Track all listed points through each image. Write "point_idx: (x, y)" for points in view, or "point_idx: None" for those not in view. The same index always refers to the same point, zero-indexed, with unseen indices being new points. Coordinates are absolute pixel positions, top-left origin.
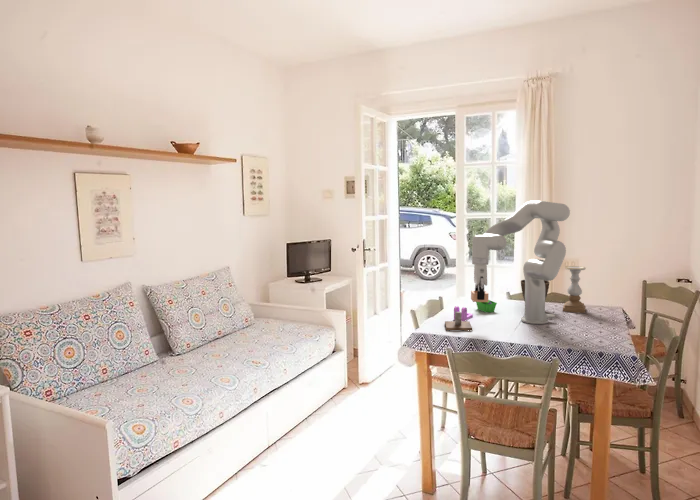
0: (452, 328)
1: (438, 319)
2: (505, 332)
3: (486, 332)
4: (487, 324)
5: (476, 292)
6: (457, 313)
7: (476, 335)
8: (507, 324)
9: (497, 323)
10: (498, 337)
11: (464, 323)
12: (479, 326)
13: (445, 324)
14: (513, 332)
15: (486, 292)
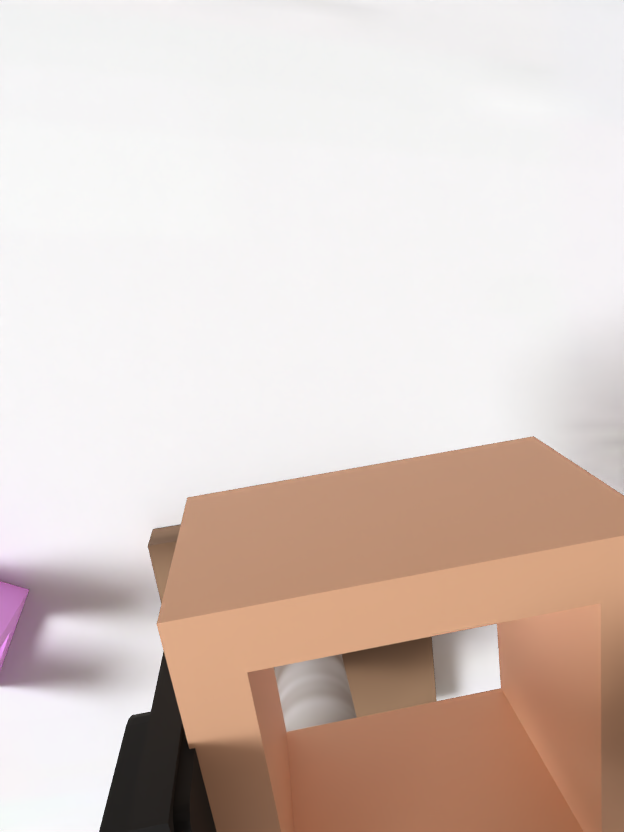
0: (431, 666)
1: (26, 810)
2: (424, 132)
3: (445, 348)
4: (98, 335)
5: (287, 827)
6: None
7: (557, 442)
8: (24, 67)
9: (9, 207)
10: (620, 228)
11: None
12: (213, 423)
13: None
14: (413, 26)
15: (464, 593)
